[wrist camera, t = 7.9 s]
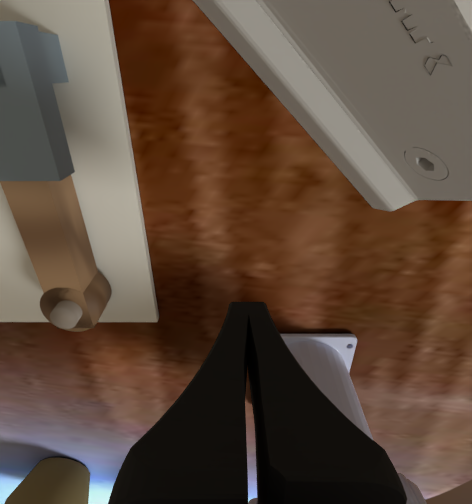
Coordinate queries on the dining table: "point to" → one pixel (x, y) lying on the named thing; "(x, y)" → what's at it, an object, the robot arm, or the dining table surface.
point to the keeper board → (70, 149)
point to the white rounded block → (369, 86)
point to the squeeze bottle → (53, 484)
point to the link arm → (59, 251)
